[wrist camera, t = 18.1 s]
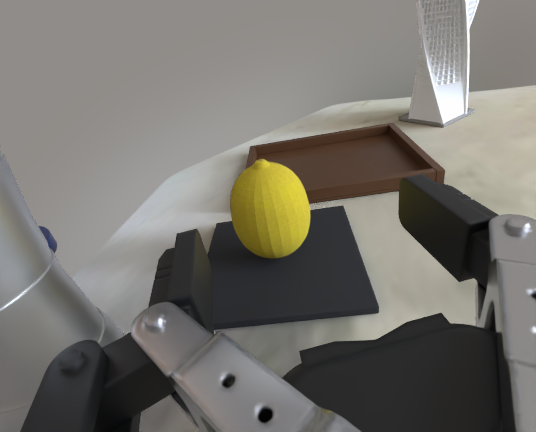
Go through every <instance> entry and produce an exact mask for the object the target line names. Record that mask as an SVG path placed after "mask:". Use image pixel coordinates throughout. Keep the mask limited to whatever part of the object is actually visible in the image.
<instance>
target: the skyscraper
mask: <svg viewBox="0 0 536 432" xmlns="http://www.w3.org/2000/svg"><path fill="white" fill-rule="evenodd" d="M478 2H479V0H416V11H417V21H418V29H419V35H420V42H421V52H420V57H419V61H418V67H417V72H416V77H415V83H414V88H413V94H412V99H411V105H410V111H409V113H408V114H405V115H403V116H401V117H399V120H401V121H408V122H414V123H420V124H427V125H433V126H439V127H445V126H447V125H449V124H451V123H453V122H455V121H457V120H459V119H461V118H463V117H465V116H467V115H469V114H471V113H473V112H474V111H475V109H471V108H467V106H468V86H469V85H468V84H469V28H470V25H471V23H472V20H473V17H474V14H475V11H476V8H477V5H478Z"/></svg>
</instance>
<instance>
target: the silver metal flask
mask: <svg viewBox="0 0 536 432" xmlns="http://www.w3.org/2000/svg"><path fill="white" fill-rule="evenodd" d="M123 336H124V334H123V333H122V332H121V330H120V329H119V328H118V327H117V326H116V325H115V324H114V323H113V322H112V321H111V319H110V318H109V317H108V316H107V315H105V314H104V313H103V312H102V311H101V310H100V309H98V308H97V307H95V306H94V305H93V304H92V302H91V301H90V300H89V299H88V298H87V296H86V295H85V294H84V293H83V292H82V290H81V289H80V288H79V287H78V286H77V284H76V283H75V282H74V281H73V280H72V278H71V277H70V276H69V275H68V274H67V273H66V271H65V270H64V269H63V268H62V266H61V264H60V262H59V261H58V259H57V258H56V256H55V254H54V252H53V251H52V250H51V248H49V247H48V242H47V240H46V239H45V237H44V235H43V233H42V232H41V230H40V228H39V227H38V225H37V223H36V222H35V220H34V218H33V216H32V215H31V213H30V211H29V208H28V206H27V204H26V202H25V200H24V197H23V195H22V193H21V191H20V188H19V187H18V184H17V182H16V180H15V178H14V175H13V173H12V171H11V169H10V166H9V164H8V162H7V160H6V158H5V155H4V154H2V153H1V151H0V432H20V431H21V428H22V426H23V423H24V421H25V419H26V416H27V414H28V412H29V409H30V407H31V405H32V402H33V400H34V397H35V395H36V393H37V390H38V388H39V386H40V383H41V381H42V379H43V376H44V374H45V372H46V369H47V368H48V366H49V364H50V363H51V362H52V360H53V359H54V358H55V357H56V356H57V355H58V354H59V353H60V352H62V351H63V350H64V349H66V348H67V347H69V346H71V345H72V344H75V343H77V342H79V341H83V340H94V341H96V342H98V343H99V345H100V346H101V347H104V346H106V345H108V344H110V343H112V342H114V341H116V340H118V339H120V338H122V337H123Z"/></svg>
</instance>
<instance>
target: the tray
mask: <svg viewBox="0 0 536 432" xmlns="http://www.w3.org/2000/svg"><path fill="white" fill-rule="evenodd" d="M259 159H265V160H266V161H267V162H274V163H278V164H281V165H283V166H285V167H287V168H289V169H290V170H291V171H293V172H294V173H295V175H296V176H297V177H298V178H299V179H300V181H301V183H302V185H303V187H304V189H305V192H306V195H307V198H308V202H309V203H316V202H323V201H330V200H337V199H344V198H351V197H358V196H365V195H372V194H379V193H386V192H393V191H399V184H400V180H401V179H402V178H405V177H409V176H413V175H418V174H424V175H426V176H427V177H429V178H431V179H432V180H434V181H435V182H439V183H442V184H444V175H445V170H444V169H443V168H442V167H441V166H440V165H439V164H438V163H437V162H436V161H434V160H433V159H432V158H431V157H430V156H429V155H428V154H427V153H426V152H425V151H423V150H422V149H421V148H420V147H419V146H418V145H417V144H416V143H415V142H413V141H412V140H411V139H410V138H409V137H408V136H407V135H406V134H405V133H404V132H402V131H401V130H400V129H399V128H398V127H397V126H396V125H395V124H394V123H389V124H382V125H376V126H370V127H364V128H358V129H352V130H346V131H340V132H334V133H328V134H322V135H316V136H310V137H304V138H298V139H292V140H286V141H280V142H274V143H268V144H262V145H256V146H250V150H249V155H248V160H247V165H246V169H247V168H248V167H250V166H252V165H253V164H254V163H255V161H256V160H259Z"/></svg>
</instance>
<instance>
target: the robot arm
mask: <svg viewBox="0 0 536 432" xmlns="http://www.w3.org/2000/svg"><path fill="white" fill-rule="evenodd" d="M399 219H400V222H401V224H402V226H403V227H404V228H405V229H406V230H407V231H408V232H409V233H410V234H411V235H412V236H413V237H414V238H415V239H416V240H417V241H418V242H419V243H420V244H421V245H422V246H423V247H424V248H425V249H426V250H427V251H428V252H429V253H430V254H431V255H432V256H433V257H434V258H435V259H436V260H437V261H438V262H439V263H440V264H441V265H442V266H443V267H444V268H445V269H446V270H447V271H448V272H449V273H450V274H452V275H453V276H454V277H455V278H456V279H457V280H458V281H459V282H461V281H464V280H468V279H472V278H475V279H476V280H477V283H476V289H475V295H476V326H472V325H465V324H450V323H449V321H448V320H447V319H446V318H445V317H444V316H443V314H442V313H439V314H435V315H431V316H428V317H424V318H420V319H417V320H413V321H409V322H406V323H405V324H403V325H401V326H399V327H398V328H396V329H394V330H392V331H391V332H389V333H387V334H385V335H384V336H382V337H380V338H378V339H376V340H365V341H338V342H332V343H328V344H324V345H320V346H317V347H313V348H309V349H306V350H302V351H299V352H300V356H301V361H302V363H301V364H299V365H298V366H296V367H294V368H293V369H292V370H290V371H289V372H288V373H287V374H286V375H285V376H284V377H283V378H281V377H280V376H278V375H277V374H276V373H274V372H273V371H272V370H271V369H269V368H268V367H267V366H265V365H264V364H263V363H262V362H260V361H259V360H258V359H256V358H255V357H254V356H252V355H251V354H250V353H249V352H247V351H246V350H245V349H243V348H242V347H241V346H240V345H238V344H237V343H236V342H234V341H233V340H232V339H231V338H229V337H228V336H227V335H225V334H224V333H222V332H219V331H218V332H217V333H215V334H214V331H213V278H212V269H211V265H210V261H209V258H208V256H207V253H206V250H205V247H204V245H203V242H202V239H201V236H200V234H199V231H198V230H197V229H194V230H190V231H186V232H182V233H178V234H177V236H176V242H175V248H171V249H167V250H166V251H165V252H164V253H163V255H162V256H161V257H160V259H159V261H158V266H157V271H156V275H155V280H154V284H153V288H152V293H151V297H150V302H149V307H148V308H147V309H145V310H144V311H143V312H141V313H140V314H139V315H138V316H137V318H136V319H135V320H134V322H133V324H132V326H131V332H130V333H128V334H127V335H125V336H123V337H122V338H120V339H118V340H116V341H114V342H112V343H110V344H108V345H106V346H104V347H101V346H100V345H99V343H98V342H96V341H94V340H83V341H79V342H77V343H75V344H72V345H71V346H69V347H67V348H66V349H64V350H63V351H62V352H60V353H59V354H58V355H57V356H56V357H55V358H54V359H53V360H52V362H51V363H50V364H49V366H48V368H47V369H46V372H45V374H44V376H43V379H42V381H41V383H40V386H39V388H38V390H37V393H36V395H35V397H34V400H33V402H32V405H31V407H30V409H29V412H28V414H27V416H26V419H25V421H24V423H23V426H22V428H21V431H20V432H139V424H140V415H141V412H142V411H143V410H145V409H147V408H148V407H150V406H152V405H153V404H155V403H157V402H158V401H160V400H162V399H163V398H165V397H167V396H168V395H169V396H170V397H171V398H172V400H173V401H174V402H175V403H176V404H177V406H178V407H179V408H180V409H181V410H182V412H183V413H184V414H185V415H186V416H187V418H188V419H189V420H190V421H191V422H192V424H193V425H194V426H195V427H196V428H197V429H198V431H199V432H536V220H535V219H532V218H529V217H526V216H521V215H512V214H508V215H500V216H499V215H498V214H496V213H494V212H493V211H491V210H489V209H488V208H486V207H485V206H483V205H481V204H480V203H478V202H476V201H475V200H471V198H470V197H468V196H467V195H465V194H463V193H462V192H460V191H459V190H457V189H455V188H454V187H452V186H449V185H445V184H442V183H439V182H435V181H434V180H432V179H431V178H429V177H427V176H426V175H424V174H418V175H413V176H409V177H405V178H402V179H401V180H400V184H399Z"/></svg>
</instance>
